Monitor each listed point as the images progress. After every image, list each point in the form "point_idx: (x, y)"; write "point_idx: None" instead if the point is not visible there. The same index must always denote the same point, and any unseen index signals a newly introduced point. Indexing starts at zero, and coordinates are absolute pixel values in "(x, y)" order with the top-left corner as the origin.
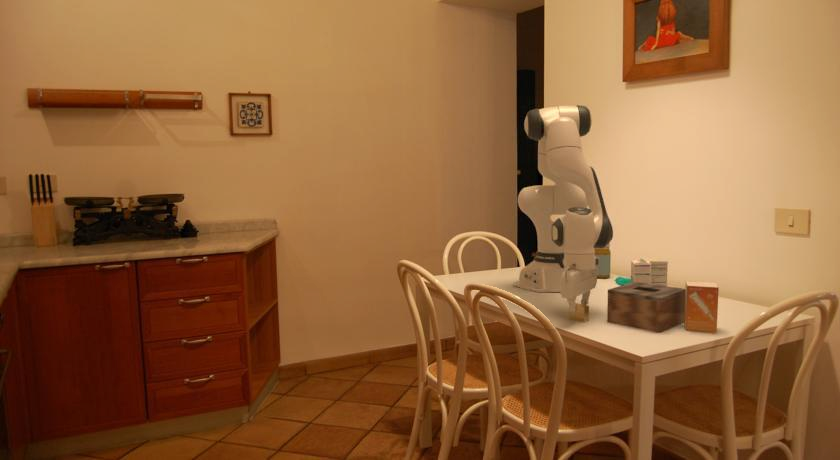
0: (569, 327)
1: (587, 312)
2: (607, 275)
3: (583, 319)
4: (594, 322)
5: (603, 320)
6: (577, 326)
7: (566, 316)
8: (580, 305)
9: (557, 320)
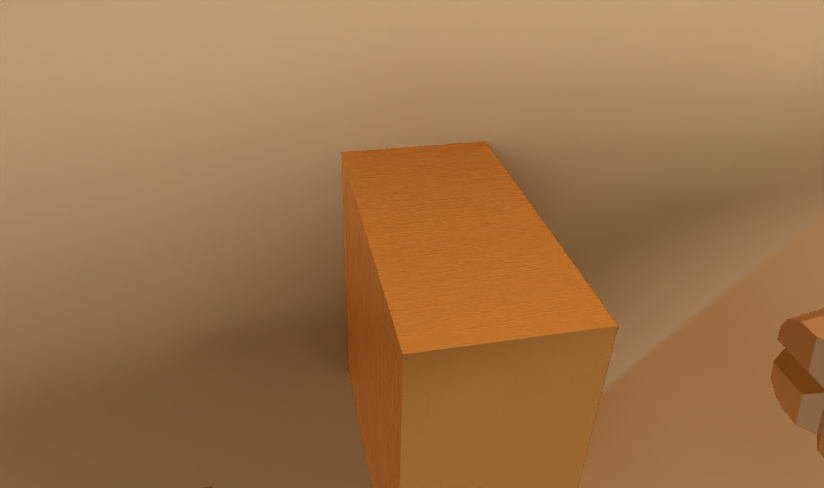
0: (798, 153)
1: (431, 246)
2: None
3: (504, 187)
4: (298, 61)
5: (9, 20)
6: (699, 109)
7: (320, 481)
8: (512, 454)
9: None
